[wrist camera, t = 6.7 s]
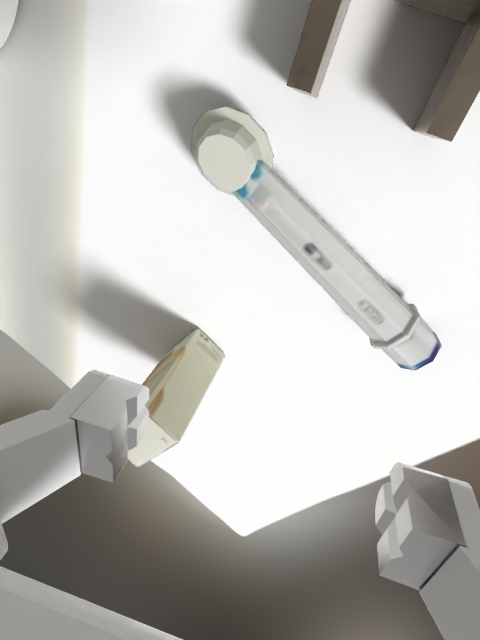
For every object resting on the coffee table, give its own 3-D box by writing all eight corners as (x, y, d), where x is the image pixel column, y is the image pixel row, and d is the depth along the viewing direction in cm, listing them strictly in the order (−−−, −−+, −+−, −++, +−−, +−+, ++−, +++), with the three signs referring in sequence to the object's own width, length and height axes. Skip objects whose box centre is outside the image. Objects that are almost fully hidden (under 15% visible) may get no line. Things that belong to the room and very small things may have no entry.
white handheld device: (396, 383, 30) (157, 161, 23) (383, 336, 36) (186, 144, 29) (456, 351, 28) (208, 90, 21) (432, 305, 33) (229, 86, 26)
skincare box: (198, 325, 37) (140, 404, 27) (227, 354, 38) (182, 442, 28) (162, 356, 41) (98, 437, 30) (190, 382, 41) (136, 470, 31)
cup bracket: (297, 90, 26) (286, 85, 21) (357, -99, 21) (358, -156, 16) (434, 137, 25) (451, 141, 21) (531, -48, 20) (579, -93, 16)
